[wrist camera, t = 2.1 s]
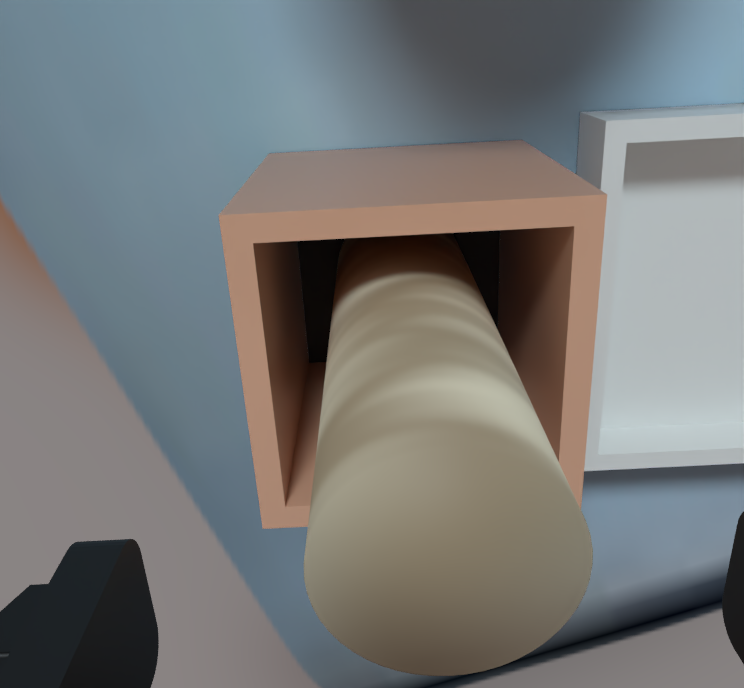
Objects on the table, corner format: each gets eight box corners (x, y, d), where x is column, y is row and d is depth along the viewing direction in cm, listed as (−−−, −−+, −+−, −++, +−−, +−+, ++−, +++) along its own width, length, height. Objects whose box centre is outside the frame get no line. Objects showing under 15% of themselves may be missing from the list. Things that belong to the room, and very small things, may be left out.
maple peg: (461, 202, 22) (604, 440, 9) (461, 322, 23) (582, 670, 10) (333, 209, 22) (289, 456, 9) (342, 328, 23) (316, 682, 11)
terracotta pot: (522, 139, 21) (607, 194, 14) (514, 368, 24) (580, 513, 17) (268, 153, 21) (218, 215, 14) (293, 379, 24) (262, 528, 17)
